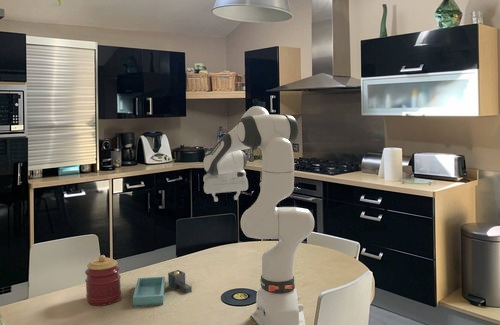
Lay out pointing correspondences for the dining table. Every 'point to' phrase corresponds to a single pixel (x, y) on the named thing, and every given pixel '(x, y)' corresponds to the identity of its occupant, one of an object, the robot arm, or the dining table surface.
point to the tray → (149, 291)
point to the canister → (103, 281)
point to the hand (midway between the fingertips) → (226, 200)
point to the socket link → (178, 282)
